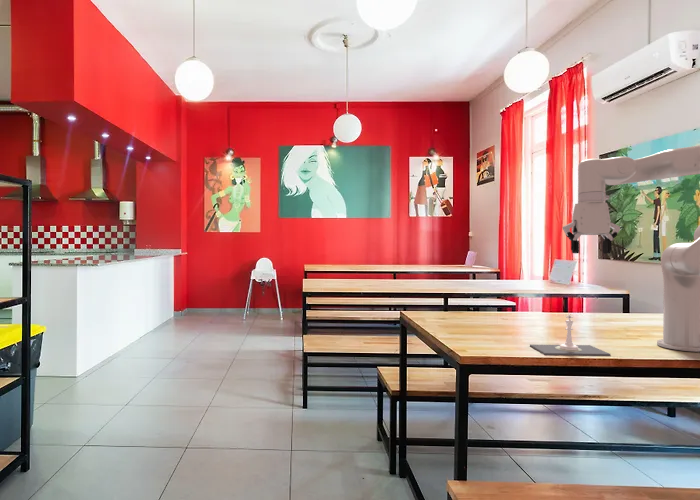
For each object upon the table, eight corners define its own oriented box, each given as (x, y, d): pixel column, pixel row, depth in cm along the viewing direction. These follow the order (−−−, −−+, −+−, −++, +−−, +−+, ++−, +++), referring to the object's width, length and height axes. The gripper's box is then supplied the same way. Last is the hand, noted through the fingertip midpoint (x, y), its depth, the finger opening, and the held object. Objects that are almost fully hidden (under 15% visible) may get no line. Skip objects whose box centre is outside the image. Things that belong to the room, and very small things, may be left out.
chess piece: (581, 350, 124) (581, 315, 124) (562, 349, 125) (563, 314, 125) (575, 347, 129) (575, 313, 129) (557, 346, 130) (557, 312, 130)
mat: (589, 346, 132) (589, 344, 132) (610, 355, 121) (610, 353, 121) (529, 346, 133) (529, 344, 133) (544, 354, 122) (544, 352, 122)
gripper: (612, 200, 141) (612, 253, 141) (558, 200, 141) (557, 253, 141) (626, 197, 133) (626, 253, 133) (569, 197, 134) (568, 253, 134)
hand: (591, 253), depth 137 cm, fingers open, 9 cm apart
